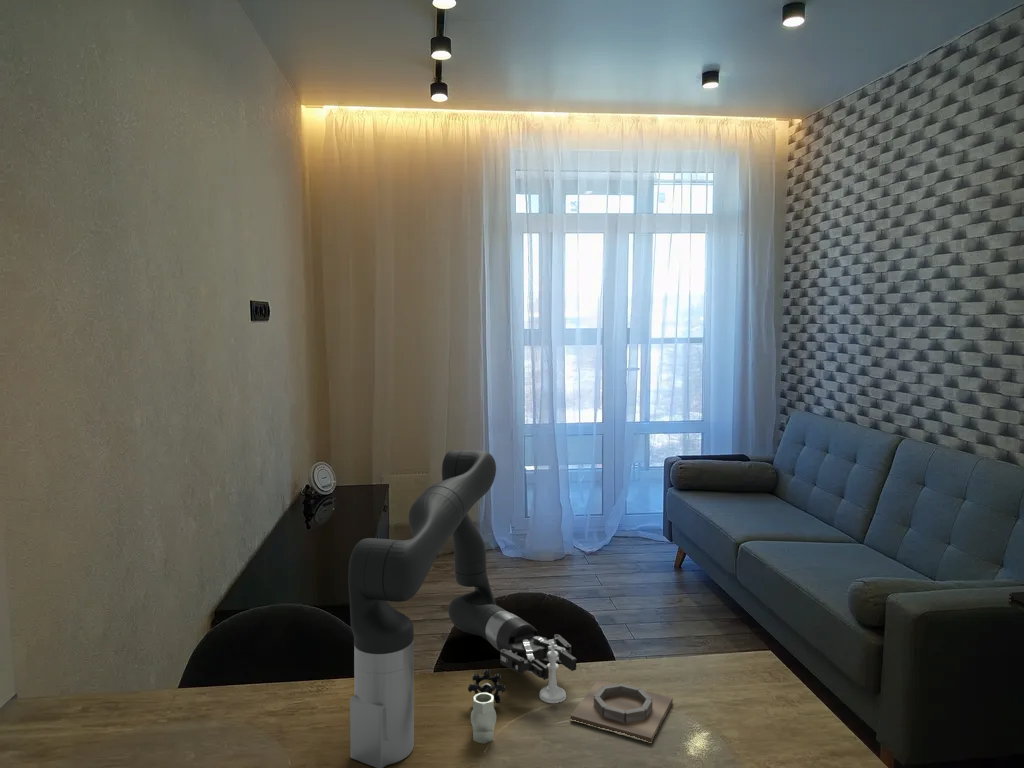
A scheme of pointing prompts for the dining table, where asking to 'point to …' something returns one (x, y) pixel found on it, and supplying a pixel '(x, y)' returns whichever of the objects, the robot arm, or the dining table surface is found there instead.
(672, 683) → the dining table surface
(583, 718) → the board
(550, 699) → the chess piece
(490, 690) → the valve
